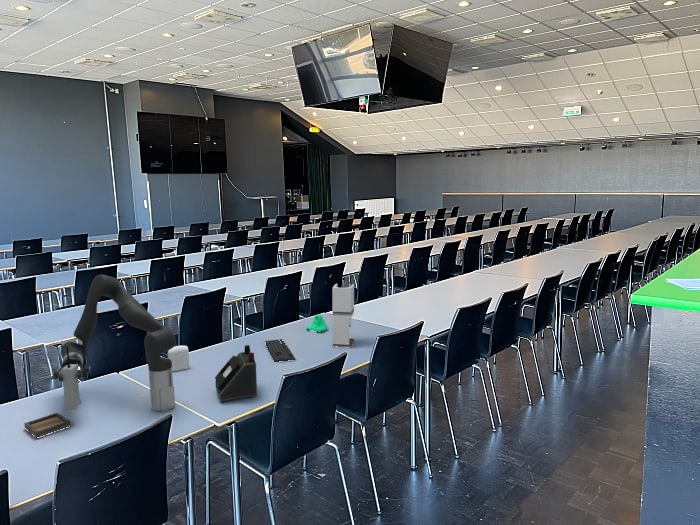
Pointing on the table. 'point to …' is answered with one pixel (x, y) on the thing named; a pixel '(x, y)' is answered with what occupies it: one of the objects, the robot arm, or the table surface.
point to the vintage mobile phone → (71, 385)
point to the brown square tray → (47, 424)
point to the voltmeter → (237, 377)
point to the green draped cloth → (318, 324)
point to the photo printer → (179, 358)
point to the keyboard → (279, 350)
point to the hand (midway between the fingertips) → (70, 378)
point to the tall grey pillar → (342, 315)
